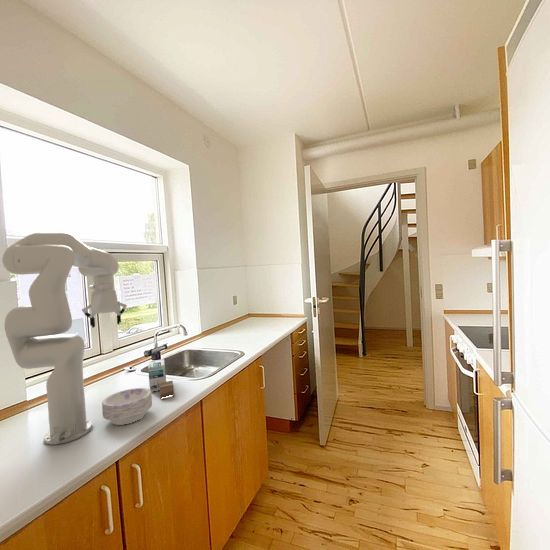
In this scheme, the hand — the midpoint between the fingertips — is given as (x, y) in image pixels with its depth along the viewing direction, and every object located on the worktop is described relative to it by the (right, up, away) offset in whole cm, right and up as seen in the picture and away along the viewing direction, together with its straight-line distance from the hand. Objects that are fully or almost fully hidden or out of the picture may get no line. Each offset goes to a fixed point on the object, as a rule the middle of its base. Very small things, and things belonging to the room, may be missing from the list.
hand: (106, 325), depth 129 cm
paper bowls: (+25, -27, -29) cm, 47 cm away
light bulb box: (+24, -27, -2) cm, 36 cm away
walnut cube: (+32, -26, -12) cm, 43 cm away
